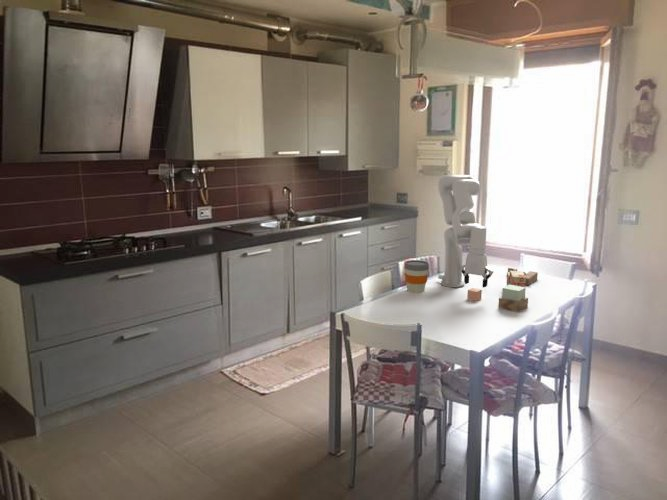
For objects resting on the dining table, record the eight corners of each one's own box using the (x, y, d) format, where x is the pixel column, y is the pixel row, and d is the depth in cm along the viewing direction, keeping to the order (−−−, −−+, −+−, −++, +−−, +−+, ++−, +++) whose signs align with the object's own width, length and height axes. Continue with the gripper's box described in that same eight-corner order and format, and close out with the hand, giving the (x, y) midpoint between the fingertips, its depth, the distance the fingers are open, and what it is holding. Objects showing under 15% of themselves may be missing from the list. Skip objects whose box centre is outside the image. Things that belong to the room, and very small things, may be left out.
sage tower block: (501, 298, 258) (502, 287, 257) (508, 294, 264) (509, 284, 263) (518, 301, 253) (519, 291, 252) (524, 297, 259) (525, 287, 258)
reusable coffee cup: (418, 286, 295) (420, 259, 292) (432, 292, 284) (433, 264, 281) (399, 289, 290) (400, 261, 287) (412, 295, 279) (413, 266, 275)
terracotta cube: (467, 299, 272) (467, 289, 271) (472, 297, 276) (472, 287, 275) (476, 301, 269) (477, 291, 268) (481, 299, 272) (481, 289, 271)
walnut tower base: (498, 308, 259) (499, 298, 258) (507, 303, 266) (508, 294, 265) (518, 313, 252) (519, 302, 251) (527, 308, 260) (528, 298, 259)
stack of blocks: (505, 288, 292) (507, 266, 290) (518, 289, 291) (519, 266, 289) (510, 300, 272) (512, 276, 269) (524, 301, 270) (525, 276, 268)
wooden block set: (538, 270, 311) (529, 276, 296) (537, 279, 312) (528, 286, 297) (508, 266, 320) (498, 272, 306) (508, 275, 321) (498, 282, 307)
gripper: (457, 250, 270) (456, 283, 273) (490, 254, 259) (488, 289, 262) (465, 248, 276) (463, 281, 279) (497, 252, 264) (495, 286, 267)
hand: (475, 285), depth 270 cm, fingers open, 9 cm apart
